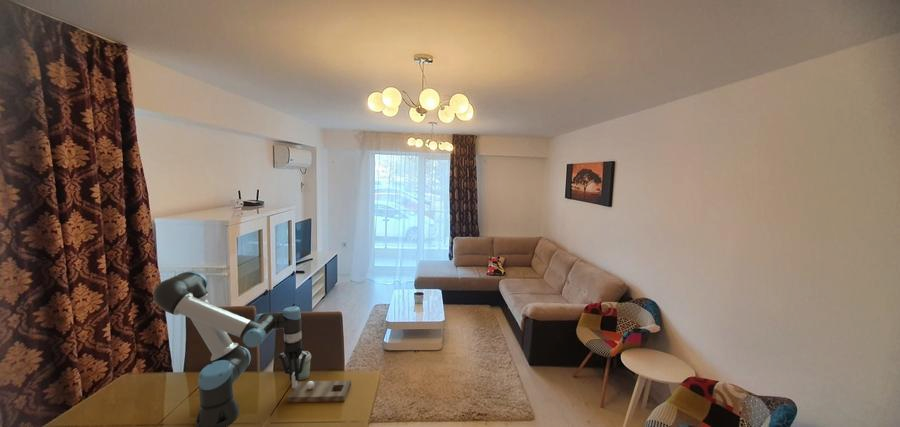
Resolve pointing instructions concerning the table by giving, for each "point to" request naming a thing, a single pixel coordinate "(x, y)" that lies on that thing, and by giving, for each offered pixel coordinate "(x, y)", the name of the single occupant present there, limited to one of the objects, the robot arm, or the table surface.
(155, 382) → the table surface
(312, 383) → the ball
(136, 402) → the table surface
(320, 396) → the deck
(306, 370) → the coffee cup
